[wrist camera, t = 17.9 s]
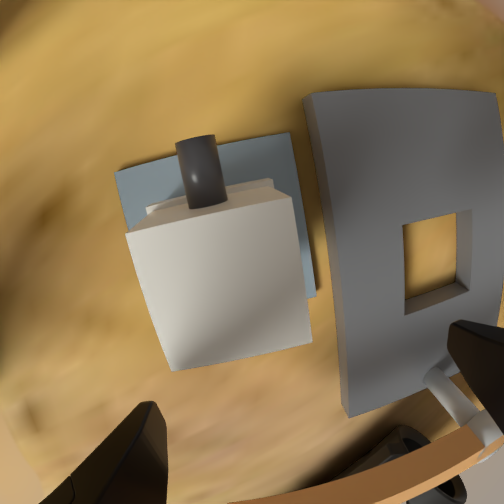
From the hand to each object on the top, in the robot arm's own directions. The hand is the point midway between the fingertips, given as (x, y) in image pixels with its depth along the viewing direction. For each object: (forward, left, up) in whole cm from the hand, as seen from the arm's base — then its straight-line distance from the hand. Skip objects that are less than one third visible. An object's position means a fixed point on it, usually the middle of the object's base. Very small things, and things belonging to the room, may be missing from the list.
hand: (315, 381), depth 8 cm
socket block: (-9, +1, -8) cm, 12 cm away
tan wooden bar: (-3, +9, -1) cm, 9 cm away
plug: (+2, -3, -8) cm, 8 cm away
